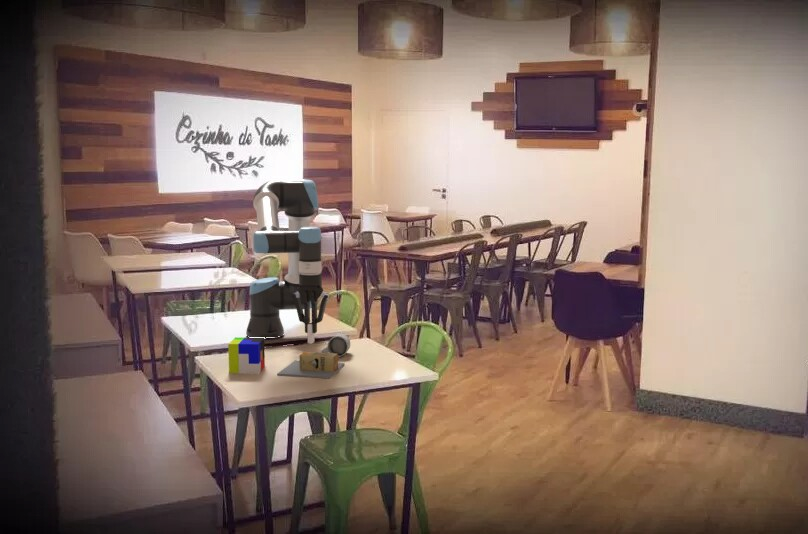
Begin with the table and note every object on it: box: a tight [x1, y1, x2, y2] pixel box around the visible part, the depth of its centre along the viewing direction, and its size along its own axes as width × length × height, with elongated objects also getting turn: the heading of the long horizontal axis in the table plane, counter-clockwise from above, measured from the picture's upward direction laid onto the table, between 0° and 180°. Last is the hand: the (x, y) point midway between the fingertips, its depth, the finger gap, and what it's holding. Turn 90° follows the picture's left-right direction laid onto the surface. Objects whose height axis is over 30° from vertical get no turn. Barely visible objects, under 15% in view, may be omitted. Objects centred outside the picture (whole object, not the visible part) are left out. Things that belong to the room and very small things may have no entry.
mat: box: [276, 359, 345, 379], centre depth 267 cm, size 18×18×1 cm
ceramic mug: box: [320, 333, 351, 358], centre depth 288 cm, size 11×8×8 cm
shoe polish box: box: [298, 351, 339, 372], centre depth 266 cm, size 5×5×12 cm
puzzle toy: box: [227, 336, 266, 374], centre depth 267 cm, size 10×10×10 cm
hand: (311, 342), depth 266 cm, fingers closed
